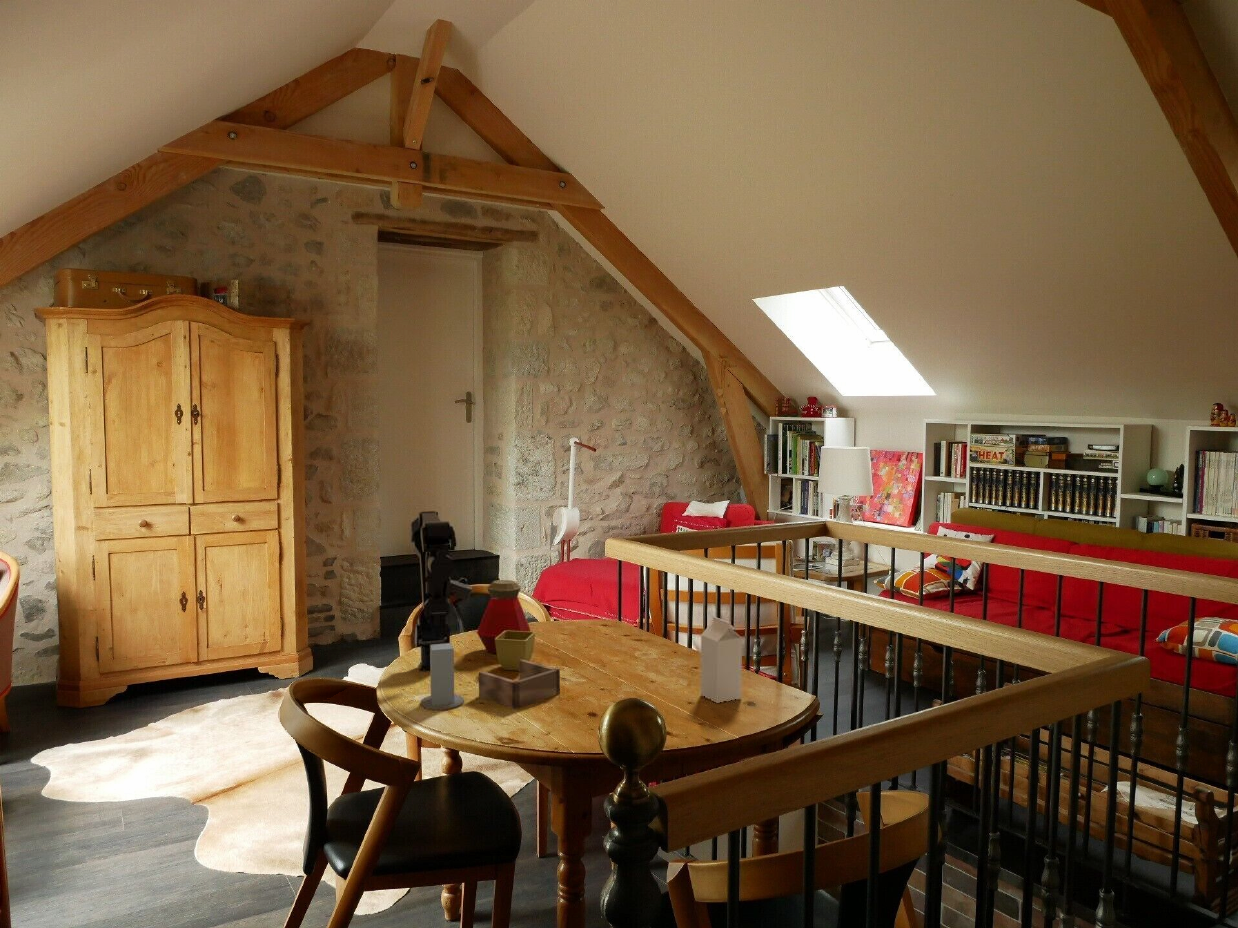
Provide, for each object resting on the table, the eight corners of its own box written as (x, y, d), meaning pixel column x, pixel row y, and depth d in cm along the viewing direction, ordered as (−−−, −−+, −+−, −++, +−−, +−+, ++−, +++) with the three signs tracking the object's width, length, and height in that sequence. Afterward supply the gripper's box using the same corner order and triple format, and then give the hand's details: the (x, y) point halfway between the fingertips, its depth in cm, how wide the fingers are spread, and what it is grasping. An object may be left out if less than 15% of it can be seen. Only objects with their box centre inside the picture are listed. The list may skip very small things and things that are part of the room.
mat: (421, 697, 217) (421, 694, 217) (463, 694, 219) (463, 692, 219) (420, 711, 207) (420, 708, 207) (464, 708, 209) (464, 706, 209)
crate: (478, 696, 218) (478, 671, 218) (523, 682, 229) (522, 659, 228) (515, 708, 209) (515, 683, 209) (559, 693, 220) (559, 669, 220)
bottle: (469, 655, 253) (468, 585, 251) (486, 643, 266) (486, 576, 264) (522, 659, 249) (522, 587, 248) (537, 646, 262) (537, 578, 261)
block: (430, 698, 215) (430, 644, 214) (452, 696, 216) (451, 642, 215) (432, 704, 210) (431, 650, 209) (454, 702, 212) (453, 648, 211)
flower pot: (526, 673, 236) (526, 640, 236) (494, 671, 238) (494, 638, 237) (535, 664, 245) (535, 631, 244) (505, 662, 246) (504, 630, 246)
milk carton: (716, 703, 213) (717, 624, 212) (700, 695, 219) (701, 618, 218) (741, 699, 216) (742, 621, 215) (724, 690, 222) (725, 615, 221)
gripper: (470, 577, 218) (471, 641, 219) (469, 564, 236) (469, 622, 238) (423, 579, 216) (424, 643, 217) (425, 565, 234) (426, 624, 235)
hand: (438, 633), depth 227 cm, fingers open, 9 cm apart
